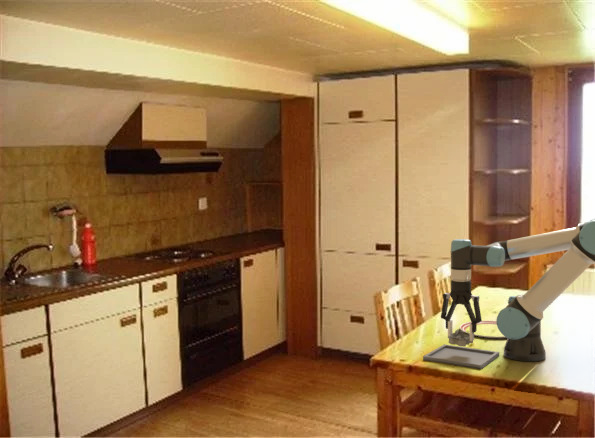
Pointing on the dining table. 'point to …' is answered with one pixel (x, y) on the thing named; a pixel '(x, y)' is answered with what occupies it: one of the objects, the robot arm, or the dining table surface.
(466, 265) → the robot arm
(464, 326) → the striped ring
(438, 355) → the holder tray
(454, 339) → the egg carton
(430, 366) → the dining table surface
